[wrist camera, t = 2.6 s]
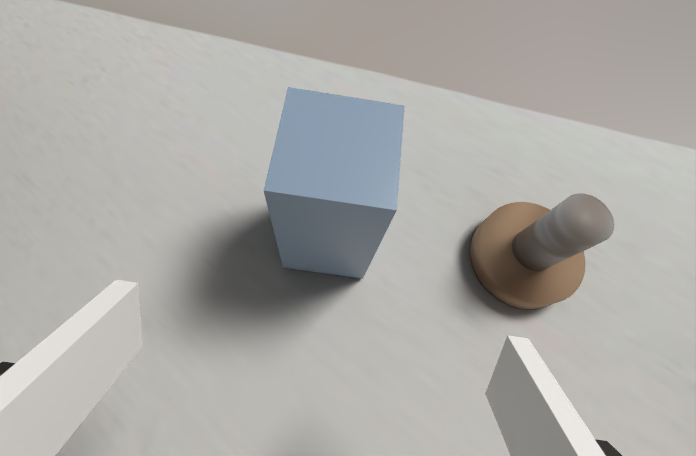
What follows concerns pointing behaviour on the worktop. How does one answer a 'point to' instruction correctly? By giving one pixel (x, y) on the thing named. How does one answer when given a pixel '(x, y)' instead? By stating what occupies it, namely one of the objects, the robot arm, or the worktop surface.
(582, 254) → the post stand
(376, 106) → the upright blue pillar
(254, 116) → the worktop surface
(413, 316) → the worktop surface
